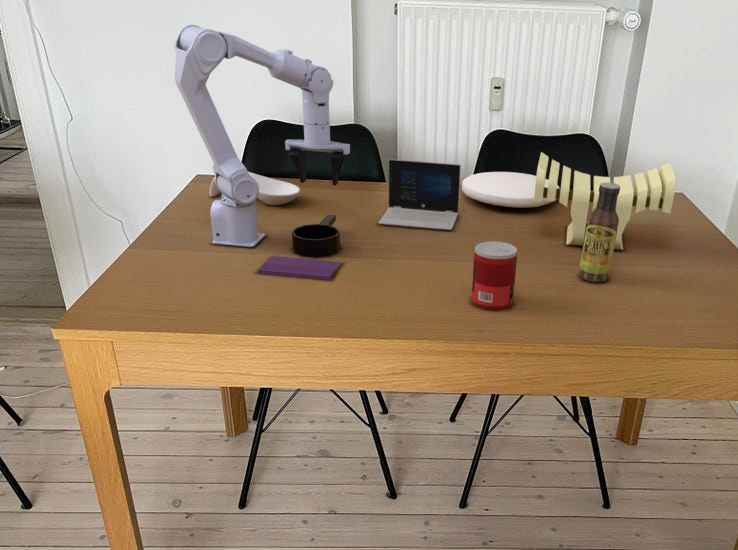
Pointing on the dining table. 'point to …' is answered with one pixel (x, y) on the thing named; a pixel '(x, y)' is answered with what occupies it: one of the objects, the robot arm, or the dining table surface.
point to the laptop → (422, 195)
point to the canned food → (494, 275)
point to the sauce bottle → (600, 235)
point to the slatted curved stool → (584, 195)
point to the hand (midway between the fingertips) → (319, 182)
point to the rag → (300, 268)
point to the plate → (503, 189)
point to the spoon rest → (269, 190)
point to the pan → (317, 239)
